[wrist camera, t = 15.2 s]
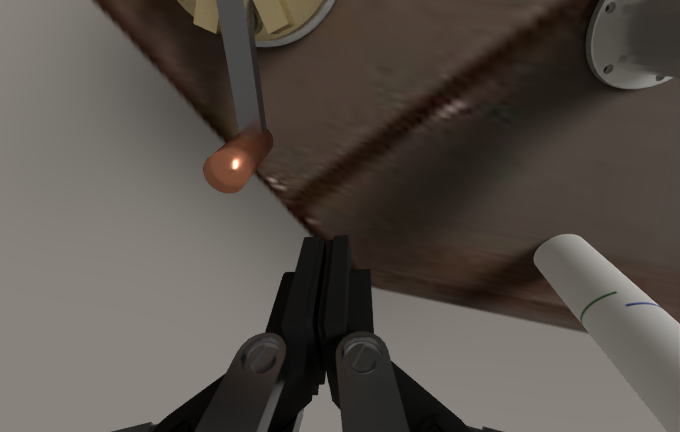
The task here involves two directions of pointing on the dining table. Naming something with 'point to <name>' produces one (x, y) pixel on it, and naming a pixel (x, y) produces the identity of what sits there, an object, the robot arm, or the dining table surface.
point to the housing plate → (302, 32)
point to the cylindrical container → (618, 321)
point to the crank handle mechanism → (247, 75)
